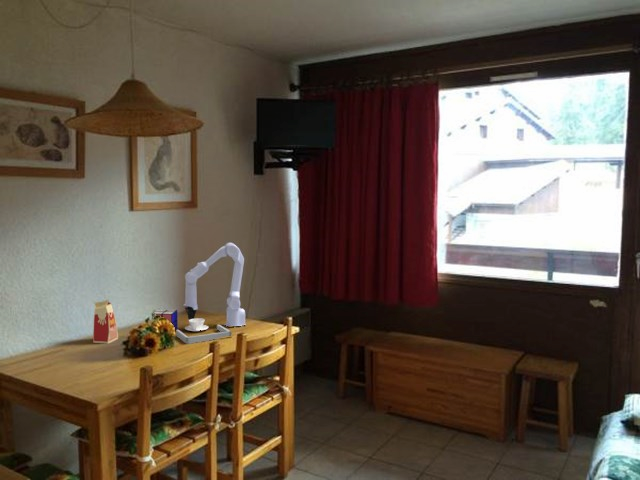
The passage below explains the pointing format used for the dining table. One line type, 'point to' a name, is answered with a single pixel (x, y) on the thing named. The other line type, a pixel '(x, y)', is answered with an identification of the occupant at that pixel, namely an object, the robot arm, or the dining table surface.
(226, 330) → the tray
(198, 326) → the teacup
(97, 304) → the milk carton
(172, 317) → the puzzle cube
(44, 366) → the dining table surface
